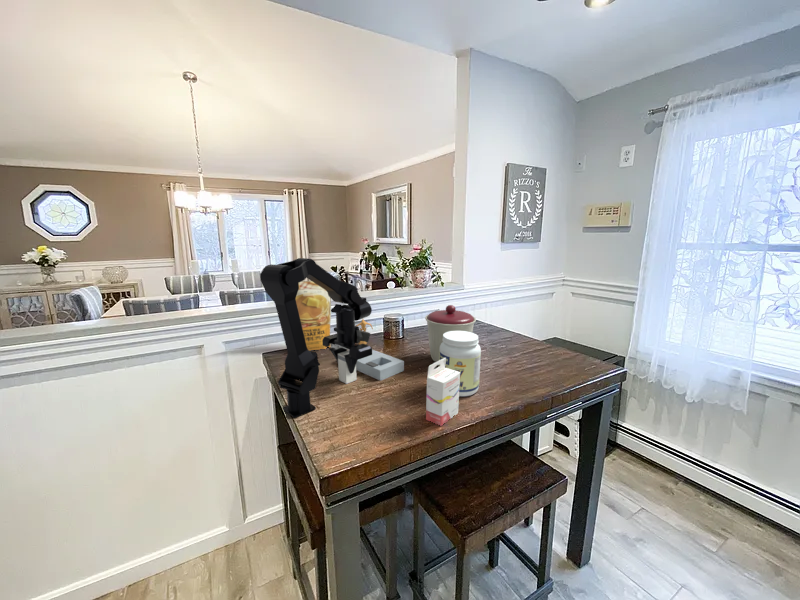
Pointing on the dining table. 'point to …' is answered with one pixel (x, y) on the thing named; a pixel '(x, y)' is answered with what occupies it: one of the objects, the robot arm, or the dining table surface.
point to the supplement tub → (462, 358)
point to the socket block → (379, 365)
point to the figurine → (363, 329)
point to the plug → (345, 369)
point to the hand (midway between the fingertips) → (347, 371)
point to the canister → (446, 326)
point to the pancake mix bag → (314, 313)
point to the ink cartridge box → (442, 393)
